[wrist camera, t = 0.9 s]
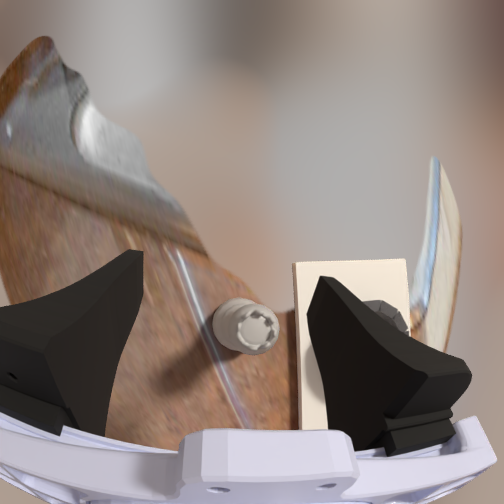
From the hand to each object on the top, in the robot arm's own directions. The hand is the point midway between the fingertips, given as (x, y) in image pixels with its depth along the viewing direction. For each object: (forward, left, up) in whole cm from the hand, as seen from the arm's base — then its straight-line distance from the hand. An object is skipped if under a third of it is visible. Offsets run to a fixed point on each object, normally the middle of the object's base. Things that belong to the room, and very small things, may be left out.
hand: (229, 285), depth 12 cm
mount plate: (-5, -13, -14) cm, 20 cm away
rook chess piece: (-2, -2, -14) cm, 14 cm away
